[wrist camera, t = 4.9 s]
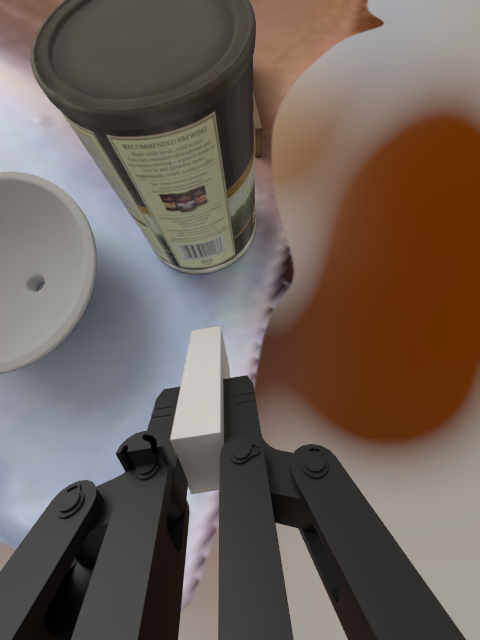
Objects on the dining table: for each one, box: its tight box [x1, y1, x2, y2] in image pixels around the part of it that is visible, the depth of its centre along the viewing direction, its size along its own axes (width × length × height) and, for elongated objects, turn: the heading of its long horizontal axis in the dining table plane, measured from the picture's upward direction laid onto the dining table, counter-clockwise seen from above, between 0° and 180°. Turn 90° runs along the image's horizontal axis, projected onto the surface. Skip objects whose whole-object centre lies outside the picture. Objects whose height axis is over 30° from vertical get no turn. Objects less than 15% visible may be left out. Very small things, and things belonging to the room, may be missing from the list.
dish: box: [0, 172, 97, 374], centre depth 22 cm, size 18×14×5 cm
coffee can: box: [31, 0, 256, 274], centre depth 19 cm, size 10×10×14 cm
